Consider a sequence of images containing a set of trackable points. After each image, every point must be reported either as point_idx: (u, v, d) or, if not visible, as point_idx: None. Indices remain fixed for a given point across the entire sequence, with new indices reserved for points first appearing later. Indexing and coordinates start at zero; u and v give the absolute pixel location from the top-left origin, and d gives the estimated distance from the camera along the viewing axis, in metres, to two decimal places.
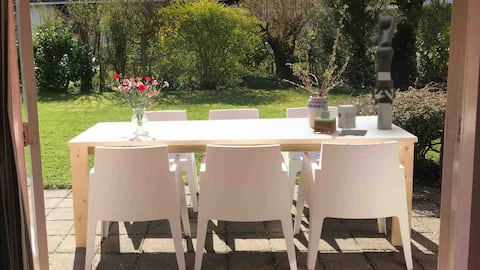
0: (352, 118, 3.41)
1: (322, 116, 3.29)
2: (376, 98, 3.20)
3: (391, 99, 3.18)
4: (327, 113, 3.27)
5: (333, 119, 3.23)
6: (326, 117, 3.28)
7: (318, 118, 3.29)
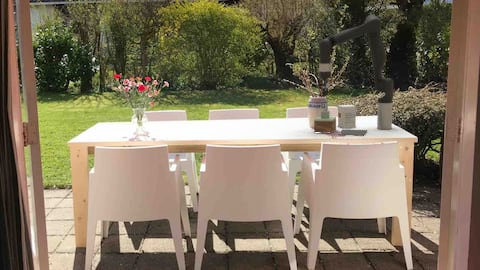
0: (352, 118, 3.41)
1: (322, 116, 3.29)
2: (326, 89, 3.21)
3: (327, 89, 3.30)
4: (327, 113, 3.27)
5: (333, 119, 3.23)
6: (326, 117, 3.28)
7: (318, 118, 3.29)
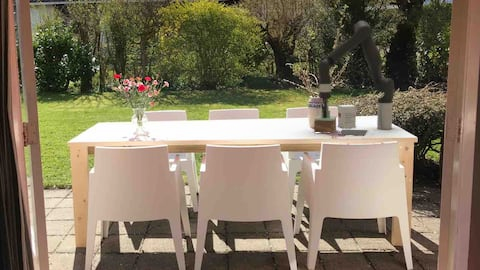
0: (352, 118, 3.41)
1: None
2: (326, 111, 3.27)
3: None
4: (328, 112, 3.27)
5: (334, 118, 3.23)
6: (327, 116, 3.28)
7: (318, 117, 3.29)
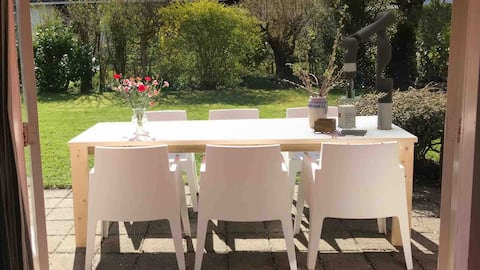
0: (352, 118, 3.41)
1: (347, 96, 3.20)
2: (351, 91, 3.18)
3: None
4: (352, 92, 3.18)
5: (359, 99, 3.15)
6: (351, 97, 3.19)
7: (343, 98, 3.20)
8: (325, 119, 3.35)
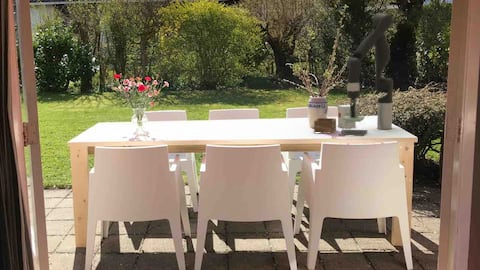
0: None
1: None
2: None
3: (354, 110, 3.22)
4: (356, 112, 3.19)
5: (362, 118, 3.15)
6: (355, 116, 3.20)
7: (346, 117, 3.21)
8: (325, 119, 3.35)
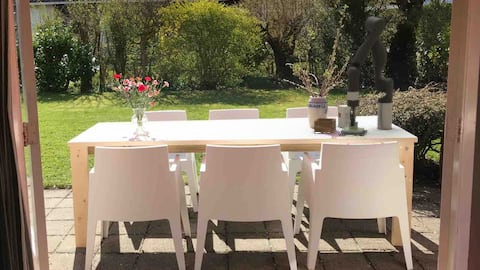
0: None
1: (350, 127, 3.22)
2: (354, 119, 3.19)
3: (354, 119, 3.24)
4: (355, 124, 3.20)
5: (362, 130, 3.17)
6: (354, 128, 3.21)
7: (346, 129, 3.22)
8: (325, 119, 3.35)
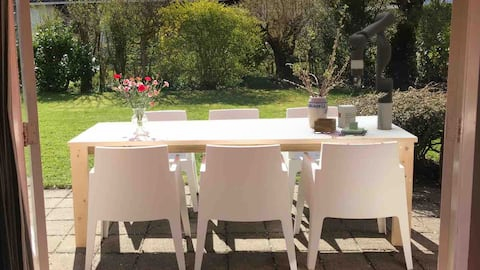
0: (352, 118, 3.41)
1: (350, 127, 3.22)
2: (358, 87, 3.11)
3: None
4: (355, 124, 3.20)
5: (362, 130, 3.17)
6: (354, 128, 3.21)
7: (346, 129, 3.22)
8: (325, 119, 3.35)
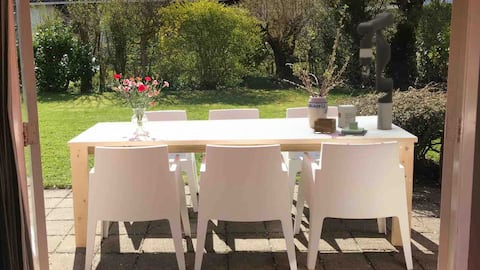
0: (352, 118, 3.41)
1: (350, 127, 3.22)
2: None
3: (367, 76, 3.15)
4: (355, 124, 3.20)
5: (362, 130, 3.17)
6: (354, 128, 3.21)
7: (346, 129, 3.22)
8: (325, 119, 3.35)
